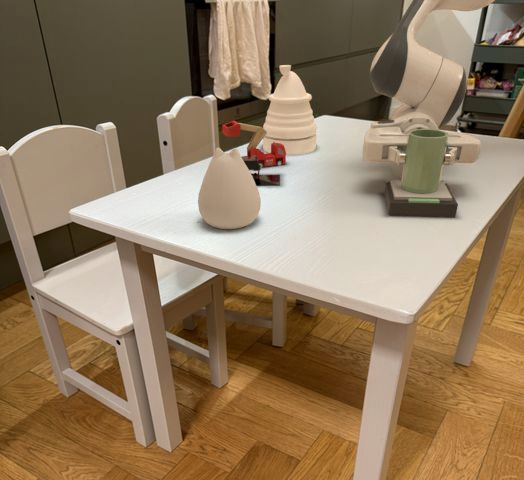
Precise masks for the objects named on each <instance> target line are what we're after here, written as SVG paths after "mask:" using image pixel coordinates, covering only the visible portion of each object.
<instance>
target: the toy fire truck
mask: <svg viewBox="0 0 524 480" xmlns="http://www.w3.org/2000/svg"><path fill="white" fill-rule="evenodd" d="M241 130H242V131H247V132H252V133H253V135H252V137H251V139H250V140H249V143H248V145H247V147H246V155H242V156H241V155H240V156H241V157H248V159H250V158H251V157H258V161H260V165H261V167H260V168H261V169H263V168H264V167H274V166H277V167H280V166H282V165H286V164H287V163H286V162H287V155H286V150H285V147H284V145H283V144H280V143H275V142H273V143H271V153H268V152H266V153H265V151H262V150H261V149H260V148H257V147H258V146H259V144H260V143H261V142H262V141H263V138H264V136H265V135H266V134H267V132H266V131H265V130H264V129H263V126H259V125H258V126H257V125H253V124H246V123H242V122H237V121H236V120H232V121H229V122H226V123H224V124H222V129H221V131H222V135H224V136H225V137H227V138H231V137H232V138H233V137H234V138H235V137H240V136H241V135H240V134H241Z"/></svg>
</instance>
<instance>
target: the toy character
mask: <svg viewBox="0 0 524 480" xmlns="http://www.w3.org/2000/svg"><path fill="white" fill-rule="evenodd" d="M251 174H252V173H251V170H249V169H248V168H247V166H246V164H245V163H244V161H243V159H242V157H241V154H240V152H239V150H238V148H237V147H233V149H232V150H231V151H230V152H224V151H223V149H221V147H216V149H215V151H214V153H213V155H212V158H211V159H210V162H209V165H208V167H207V169H206V171H205V174H204V176H203V178H202V183H201V185H200V188H199V191H198V196H197V197H198V198H197V205H198V211H199V213H200V216H201V218H202V220H203V221H204V222H205V223H206V224H208V225H209V226H211V227H213V228H216V229H221V230H236V229H241V228H245V227H247V226H249V225H252V223H254V222H255V221H256V219H257V218H258V217H259V213H260V210H261V207H262V206H261V205H262V204H261V202H262V200H261V194H260V191H259V189H258V186H256V184H255V181H254V179H253V177H252V175H251Z"/></svg>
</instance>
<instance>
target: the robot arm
mask: <svg viewBox="0 0 524 480" xmlns="http://www.w3.org/2000/svg"><path fill="white" fill-rule="evenodd" d="M495 1H496V0H412V1H411V3H410V4H409V5H408V8H407V9H406V11H405V12H404V14H403V16H402V17H401V19H400V21H399V22H398V24H397V25H396V27H395V29H394V31H393V32H392V34H391V35H390V36H389V37H388V38H387V39H386V41H384V43H383V44H382V45H381V47H380V48H379V49H378V51H377V52H376V54H375V55H374V57H373V60H372V62H371V65H370V69H369V73H368V75H369V79H370V82H371V84H372V87H373V89H374V91H375V93H377V94H380V95H382V96H386V97H388V98H391V99H392V98H393V99H394V100H397V101H399V102H401V103H403V104H402V105H400V106H398V107H397V108H396V109H394V111H393V112H392V114H391V116H390V117H389V119H387V120H386V119H385V120H379V121H373V122H371V123H370V127H369V129H368V130H367V131H366V132H365V135H364V137H363V146H362V154H361V155H362V157H361V159H362V161H363V162H367V163H368V162H370V163H394V164H395V165H404V164H405V159H406V152H405V151H406V144H407V137H408V132H409V131H411V130H416V129H435V130H440V129H442V128H444V127H445V126H446V125H448V124H449V123H450V122H451V120H452V119H453V118H454V116H455V115H456V114H457V112H458V110H459V109H460V107H461V105H462V103H463V101H464V98H465V97H466V93H467V88H468V87H467V83H468V82H467V73H466V70H465V68H464V66H463V65H460V64H458V63H457V62H455V61H453V60H451V59H449V58H446V57H445V56H444V55H443V56H442V55H440V54H438V53H436V52H434V51H432V50H430V49H428V48H426V47H424V46H422V45H420V44H419V43H418V42H417V41H416V39H415V36H416V35H417V34H418V32H419V30H420V29H421V27H422V25H423V24H424V22H425V21H426V19H427V18H428V16H429V14H430V13H432V12H434V11H440V10H448V11H449V10H451V11H458V12H473V11H477V10H480V9H484V8H486V7H488V6H489V5H491V4H492V3H494V2H495ZM447 133H448V134H449V137H448V143H447V148H446V153H445V158H444V164H443V166H453V164H474V163H476V162H477V161H478V160H479V158H480V157H479V156H480V153H481V147H482V142H481V141H480V139H478V138H476V137H475V136H473V135H471V134H468V133H459V132H458V133H457V132H454V133H452V132H451V133H449V132H447Z"/></svg>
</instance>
